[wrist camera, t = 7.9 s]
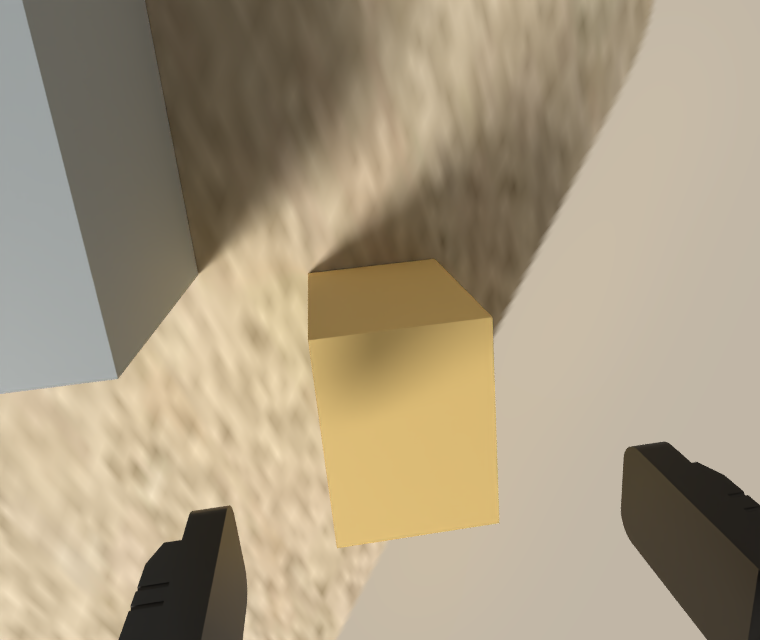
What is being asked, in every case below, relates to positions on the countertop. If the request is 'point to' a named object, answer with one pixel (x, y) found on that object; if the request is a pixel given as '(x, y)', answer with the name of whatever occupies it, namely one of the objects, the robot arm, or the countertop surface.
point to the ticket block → (84, 193)
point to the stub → (403, 401)
